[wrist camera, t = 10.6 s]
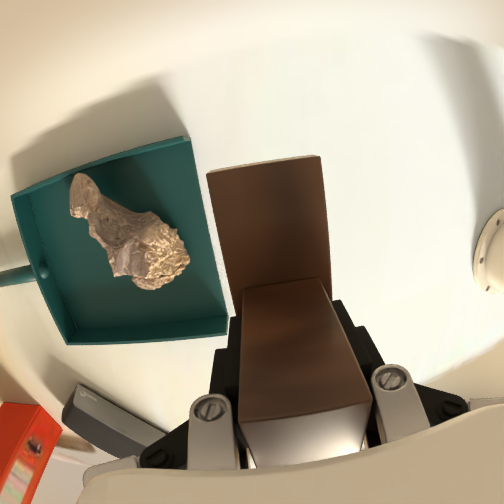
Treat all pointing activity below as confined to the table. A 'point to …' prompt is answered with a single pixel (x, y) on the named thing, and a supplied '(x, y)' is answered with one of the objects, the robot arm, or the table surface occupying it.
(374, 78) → the table surface
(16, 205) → the dustpan
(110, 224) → the rock
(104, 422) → the hard drive
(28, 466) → the file binder
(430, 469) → the robot arm
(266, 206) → the brown stepped block
